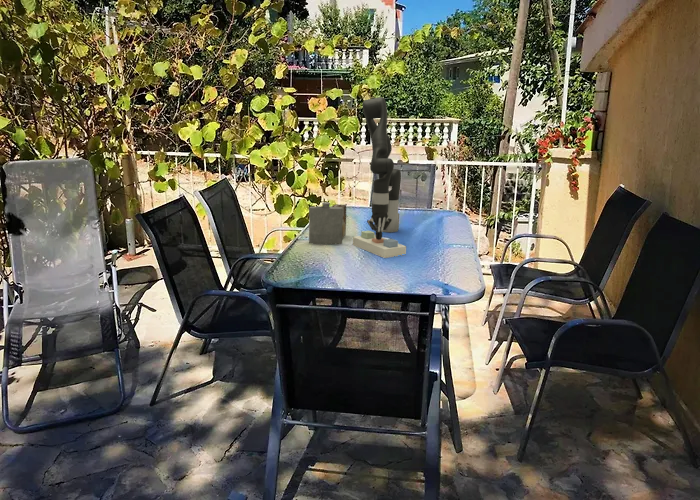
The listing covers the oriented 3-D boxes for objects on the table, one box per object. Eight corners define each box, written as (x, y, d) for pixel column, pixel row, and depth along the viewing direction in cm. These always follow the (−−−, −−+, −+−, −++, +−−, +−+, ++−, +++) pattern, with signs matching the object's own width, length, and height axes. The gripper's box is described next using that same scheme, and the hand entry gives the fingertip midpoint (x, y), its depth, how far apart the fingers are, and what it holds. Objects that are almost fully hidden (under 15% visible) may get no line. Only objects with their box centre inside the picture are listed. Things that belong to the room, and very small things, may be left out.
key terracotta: (379, 243, 252) (380, 237, 252) (385, 245, 249) (385, 239, 248) (371, 244, 250) (372, 238, 249) (377, 246, 246) (377, 240, 245)
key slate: (391, 244, 245) (391, 238, 244) (397, 246, 241) (398, 240, 240) (383, 245, 242) (383, 239, 242) (389, 248, 239) (389, 241, 238)
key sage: (368, 236, 259) (369, 230, 258) (374, 238, 255) (374, 232, 255) (361, 237, 257) (361, 231, 256) (366, 239, 253) (366, 233, 252)
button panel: (373, 242, 263) (373, 234, 262) (405, 254, 243) (406, 246, 242) (352, 245, 257) (352, 236, 256) (384, 258, 236) (384, 249, 235)
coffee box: (333, 234, 276) (334, 203, 272) (346, 235, 275) (346, 204, 271) (329, 238, 268) (330, 207, 264) (342, 239, 267) (343, 207, 262)
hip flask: (341, 242, 261) (342, 202, 256) (342, 244, 257) (343, 203, 252) (309, 242, 260) (309, 201, 255) (308, 244, 256) (309, 202, 251)
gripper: (387, 200, 251) (385, 236, 255) (363, 202, 243) (362, 239, 248) (396, 202, 244) (394, 239, 249) (373, 204, 237) (371, 242, 242)
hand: (378, 239), depth 248 cm, fingers closed
